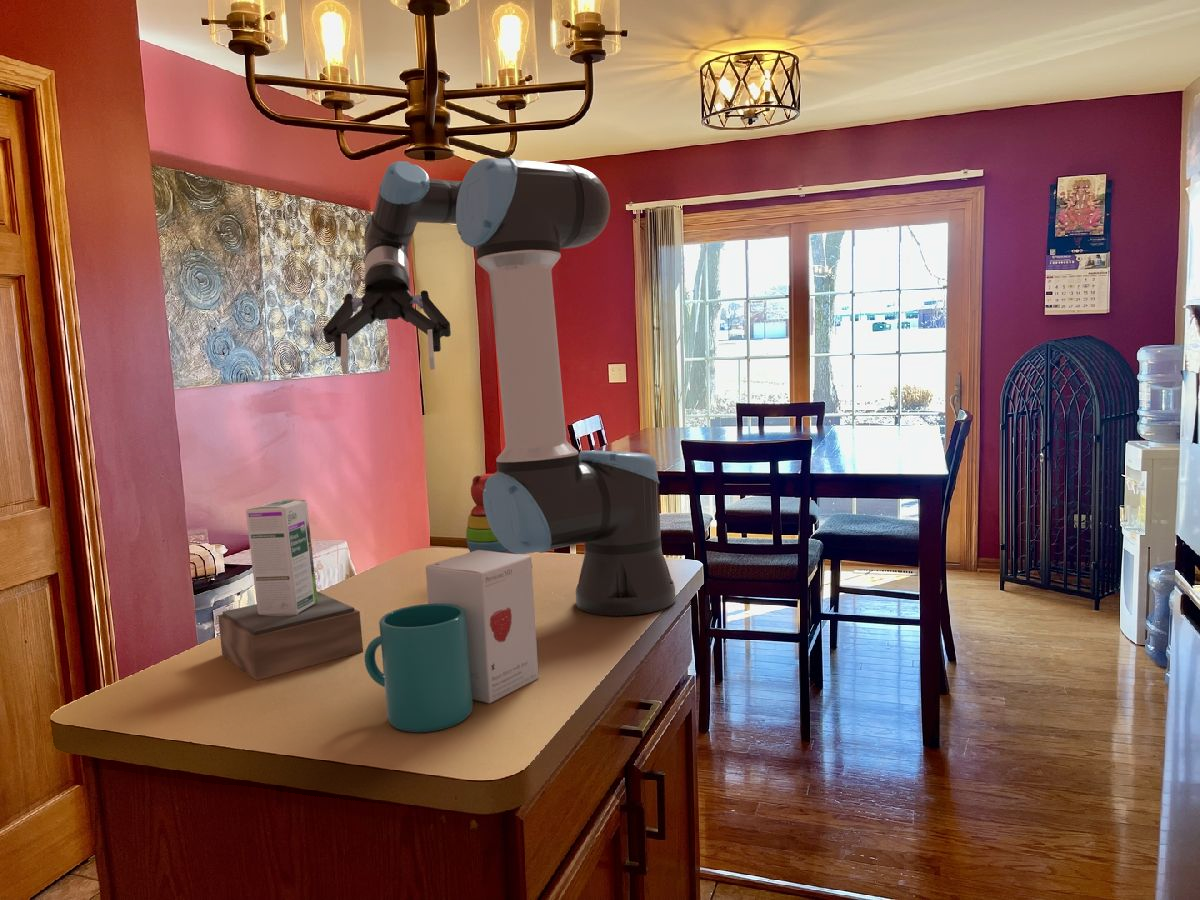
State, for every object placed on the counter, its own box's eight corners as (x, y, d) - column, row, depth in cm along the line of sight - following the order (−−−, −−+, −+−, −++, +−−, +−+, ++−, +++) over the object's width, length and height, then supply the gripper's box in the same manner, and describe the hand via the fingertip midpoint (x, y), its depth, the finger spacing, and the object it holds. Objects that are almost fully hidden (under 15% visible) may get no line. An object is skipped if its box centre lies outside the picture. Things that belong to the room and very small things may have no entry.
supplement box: (490, 705, 96) (480, 572, 94) (432, 691, 101) (422, 564, 100) (541, 678, 103) (533, 554, 102) (485, 666, 108) (476, 548, 107)
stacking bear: (486, 582, 150) (479, 479, 148) (455, 573, 158) (448, 475, 156) (537, 569, 157) (530, 471, 155) (505, 561, 164) (498, 467, 163)
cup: (393, 695, 101) (384, 600, 99) (487, 703, 97) (480, 604, 96) (346, 728, 92) (337, 625, 91) (448, 738, 88) (439, 630, 87)
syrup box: (297, 616, 114) (286, 506, 112) (255, 616, 115) (244, 507, 113) (318, 603, 119) (308, 498, 118) (279, 603, 121) (268, 499, 119)
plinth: (363, 651, 117) (359, 607, 116) (256, 680, 108) (251, 633, 107) (322, 629, 128) (318, 589, 127) (222, 654, 119) (217, 611, 118)
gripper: (460, 292, 157) (468, 377, 144) (316, 298, 153) (311, 387, 140) (458, 258, 151) (466, 344, 138) (308, 264, 147) (302, 353, 134)
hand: (388, 366), depth 139 cm, fingers open, 13 cm apart
